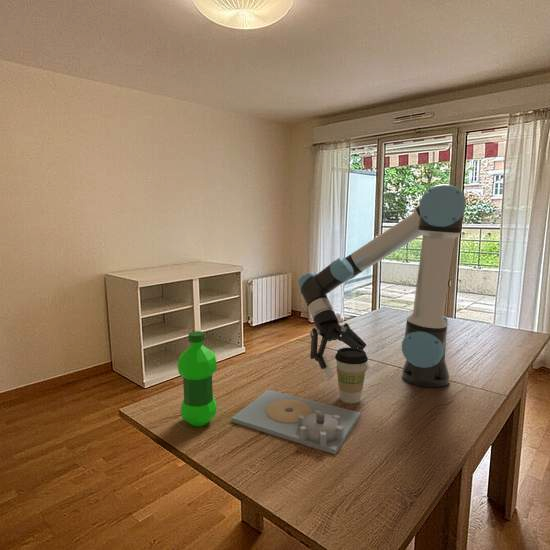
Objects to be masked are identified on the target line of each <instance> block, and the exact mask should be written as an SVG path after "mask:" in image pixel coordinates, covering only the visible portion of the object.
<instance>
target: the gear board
mask: <svg viewBox="0 0 550 550" xmlns="http://www.w3.org/2000/svg"><path fill="white" fill-rule="evenodd" d="M361 416H362V415H361V412H359V411H355V410H351V409H347V408H342V407H339V406H336V405H331V404H327V403H323V402H320V401H316V400H312V399H307V398H303V397H300V396H296V395H292V394H288V393H283V392H279V391H276V390H272V389H267V390H266V391H264V392H263V393H262V394H260V395H259V396H258V397H257V398H255V399H254V400H253V401H251V402H250V403H249V404H248V405H246V406H245V407H243V408H242V409H241V410H239V411H238V412H237V413H236V414H234V416H232V417H231V423H234V424H237V425H239V426H244V427H245V428H249V429H253V430H256V431H259V432H261V433H266V434H268V435H272V436H275V437H278V438H282V439H284V440H288V441H289V442H290V441H291V442H295V443H297V444H301V445H303V446H306V447H309V448H313V449H316V450H319V451H323V452H326V453H329V454H332V455H337V453H338V451H340V449H341V447H342V445H343V444H344V442H345V441H346V439H347V438H348V437H349V435H350V433H351V432H352V430H353V429H354V428H355V426H356V424H357V422H358V421H359V420H360V418H361Z"/></svg>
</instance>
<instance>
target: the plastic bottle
mask: <svg viewBox="0 0 550 550" xmlns="http://www.w3.org/2000/svg"><path fill="white" fill-rule="evenodd" d="M204 341H205V331H201V330H200V331H198V330H196V331H191V332H189V333H188V342H189V343H190V346H189V347H188V348H186V349H185V350H184V351H183V352H181V354H179V357H178V361H177V370H178V373H179V375H180V376H181V377H182V378H183V381H182V382H183V383H182V385H183V400H182V402H181V406H180V407H181V408H180V416H181V417H182V419H183V420H184V421H186V422H187V423H188V424H189V425H191V426H193V427H203V426H206V425H207V424H208V423H209V422H210V421H211V420H212V419H213V418H214V417H215V416H216V414H217V402H216V399H215V397H214V396H213V393H214V391H213V375H214V374H215V372H217V371H216V370H217V367H218V365H217V357H216V354H215V353H214V352H213V351H212V350H211V349H210V348H208V347H206V346H205V345H204V344H203V342H204Z"/></svg>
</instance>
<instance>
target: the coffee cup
mask: <svg viewBox="0 0 550 550" xmlns="http://www.w3.org/2000/svg"><path fill="white" fill-rule="evenodd" d="M334 359H335V360H336V373H337V385H338V392H339V400H340V401H341V402H344V403H345V404H357V403H359V402H361V397H362V391H363V388H364V383H365V382H364V381H365V376H366V372H365V370H366V368H365V366H366V362H368V361H369V358H368V356H367V353H366V351H365V350H364V349H363V350H361V349H358V347H357V348H351V347H349V346H348V347H342V348H339V349H337V351H336V354H335V355H334Z"/></svg>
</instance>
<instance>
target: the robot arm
mask: <svg viewBox="0 0 550 550" xmlns="http://www.w3.org/2000/svg"><path fill="white" fill-rule="evenodd" d="M466 207H467V201H466V196H465V194H464V193H463V191H462V190H461V189H460V188H459V187H457V186H456V185H453V184H449V183H443V184H439V183H438V184H436V185H434V186H431V187H429V189H427V190H426V191H425V192H424V194H423V195H422V196H421V198H420V201H419V205H418V206H416V207H415V208H414V210H413V213H411V214H410V215H408V216H407V217H405V218H403V219H402V220H401V221H399V222H397V223H396V224H394V225H392V227H390V228H389V229H387V230H385V231H384V232H383V233H381V234H379V235H378V236H376V237H374V238H373V239H372V240H370V241H368V242H367V243H366V244H364V245H363V246H361V247H359V248H358V249H357V250H355V251H354V252H352V253H351V254H349V255H347V256H346V257H342V256H340V257H338V258H337V259H335V260H333V261H331V263H329V265H327V266H326V267H324V268H323V269H322V270H320V272H318V273H316V272H307V273H306V274H302V275H301V276H299V278H298V282H297V284H298V288H299V290H300V293H301V295H302V297H303V299H304V302H305V304H306V307H307V308H308V311H309V313H310V315H311V318H312V319H313V323H314V325H315V327H313V328H312V329H311V330H310V332H309V334H310V338H311V340H310V354H309V355H310V356H309V357H310V359H311V360H315V362H317V363H318V365H319V367H320V369H321V370H323V372H324V374H325V376H326V378H327V380H328V381H330V380H332V378H334V377H335V375H334V373H333V370H332V367H331V366H330V364H329V360H328V358H327V356H326V355H324V352H325V349H326V347H327V343H328V342H331V341H337V340H338V341H339V342H342V343H344V344H345V345H346V346H348V347H350V348H358V349H361V350H363V351H364V349H365V348H366V347H367V343H366V342H365V341H363V339H362V338H361V337H360V336H359V335H358V334H356V332H355V331H354V330H353V329H351V327H350V325H349V323H347V322H345V323H344V324H342V325H340V324H339V319H338V317H337V314H336V312H335V311H334V308H333V306H332V304H331V302H330V300H329V298H328V294H329V293H330V292H332V291H333V290H334V289H336V288H337V287H339V286H341V285H342V284H344V283H346V282H348V281H349V280H352V279H354V278H355V277H356V276H358V275H359V274H361V273H362V272H364V271H366V270H368V269H369V268H370V267H372V266H374V265H375V264H377V263H379V262H380V261H382V260H384V259H386V258H387V257H388V256H390V255H392V254H393V253H395V252H396V251H398V250H400V249H401V248H403V247H404V246H406V245H408V244H410V243H411V242H413V241H414V240H415V239H418V238H419V237H420V236H422V242H421V248H420V249H421V250H420V257H419V263H418V264H419V265H418V272H417V280H416V288H415V294H414V303H413V310H412V313H411V314H409V316H408V317H407V318H406V324H405V329H404V330H405V332H404V337H403V339H402V342H401V351H402V355H403V356H404V358H405V363H404V365H403V367H402V371H401V372H402V373H401V376H402V378H403V380H404V381H406V382H408V383H410V384H412V385H415V386H419V387H422V386H423V387H424V388H430V387H432V389H433V387H437V388H442V386H443V387H446V386H447V385H449V383H450V373H449V370H448V366H447V363H446V348H447V335H448V334H447V332H448V327H449V323H448V318H447V316H446V315H444V313H445V306H446V300H447V292H448V286H449V277H450V271H451V265H452V264H451V263H452V257H453V251H454V245H455V244H454V243H455V239H456V238H457V237H459V236H460V235H461V234H462V229H463V223H464V216H465V210H466ZM319 336H321V337H322V338H321V340H320V343H319V348H318V341H319V340H318V339H319ZM365 368H366V370H365V373H366V372H367V371H368V370H369V369H371V367H370V365H369V363H368V361H367V362H366V366H365ZM445 385H446V386H445Z"/></svg>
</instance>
